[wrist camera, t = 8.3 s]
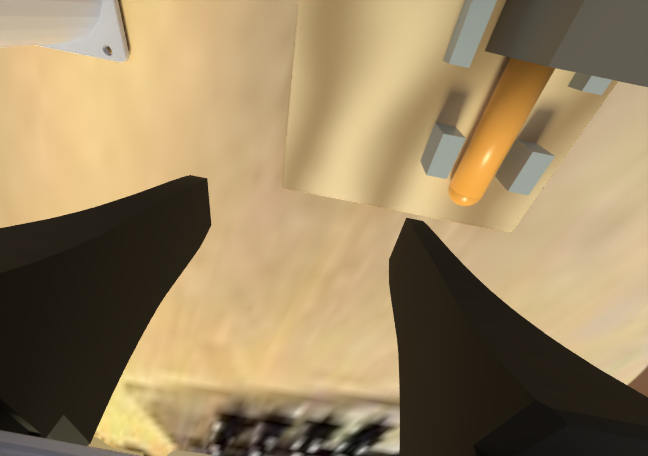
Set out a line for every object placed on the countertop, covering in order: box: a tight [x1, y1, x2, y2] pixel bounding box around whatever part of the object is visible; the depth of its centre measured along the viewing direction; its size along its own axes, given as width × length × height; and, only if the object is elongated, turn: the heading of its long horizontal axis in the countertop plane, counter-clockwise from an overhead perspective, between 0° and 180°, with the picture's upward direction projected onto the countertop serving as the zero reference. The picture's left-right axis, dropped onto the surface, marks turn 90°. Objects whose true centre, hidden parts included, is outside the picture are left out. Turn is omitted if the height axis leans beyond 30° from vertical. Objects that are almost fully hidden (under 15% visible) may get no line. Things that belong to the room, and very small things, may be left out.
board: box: [282, 0, 618, 233], centre depth 15 cm, size 16×18×1 cm
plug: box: [448, 0, 648, 206], centre depth 13 cm, size 4×12×6 cm, turn 171°
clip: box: [420, 123, 555, 195], centre depth 16 cm, size 6×2×2 cm, turn 81°
